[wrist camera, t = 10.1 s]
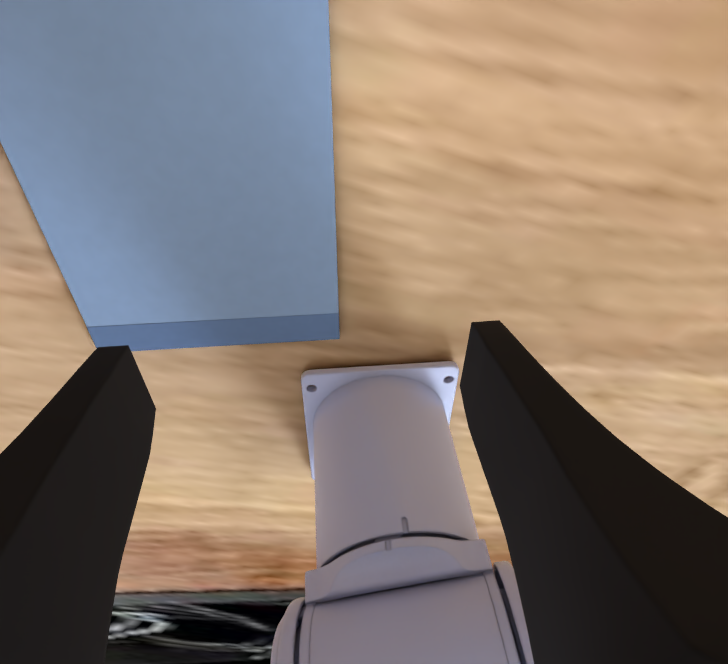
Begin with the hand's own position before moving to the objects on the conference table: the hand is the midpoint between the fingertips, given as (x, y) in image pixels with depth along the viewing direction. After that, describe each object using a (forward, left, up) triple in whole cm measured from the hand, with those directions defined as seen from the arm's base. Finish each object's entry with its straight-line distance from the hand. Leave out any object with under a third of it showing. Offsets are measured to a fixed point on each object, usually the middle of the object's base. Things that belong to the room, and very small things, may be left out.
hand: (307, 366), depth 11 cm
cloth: (+1, +4, -10) cm, 11 cm away
